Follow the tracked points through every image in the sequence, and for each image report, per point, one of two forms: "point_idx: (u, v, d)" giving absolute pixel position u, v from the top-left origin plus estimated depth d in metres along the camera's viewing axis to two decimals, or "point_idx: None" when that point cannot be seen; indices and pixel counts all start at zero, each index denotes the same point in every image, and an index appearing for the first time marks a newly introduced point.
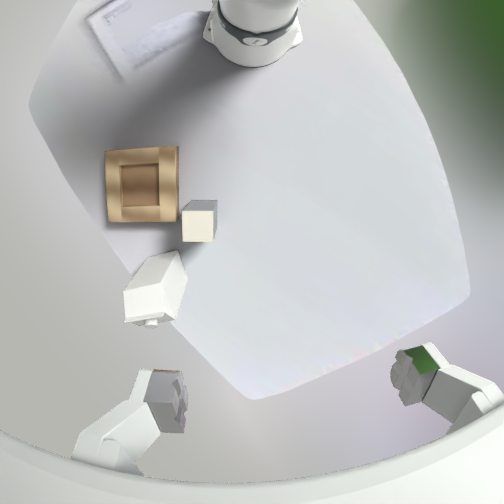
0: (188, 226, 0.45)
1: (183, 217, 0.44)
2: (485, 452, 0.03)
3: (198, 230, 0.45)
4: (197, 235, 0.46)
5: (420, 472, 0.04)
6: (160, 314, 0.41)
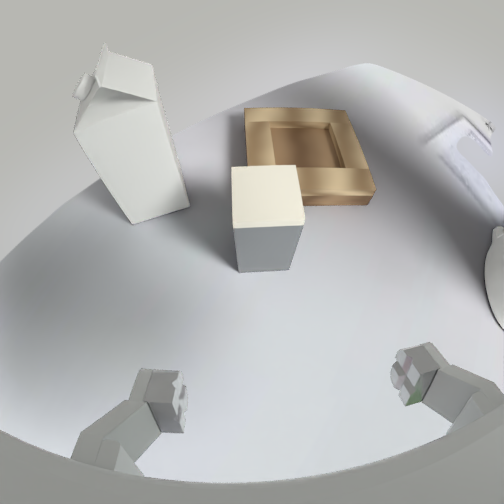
0: (264, 175, 0.21)
1: (284, 167, 0.21)
2: (485, 452, 0.03)
3: (258, 192, 0.20)
4: (246, 191, 0.20)
5: (420, 472, 0.04)
6: (99, 75, 0.14)
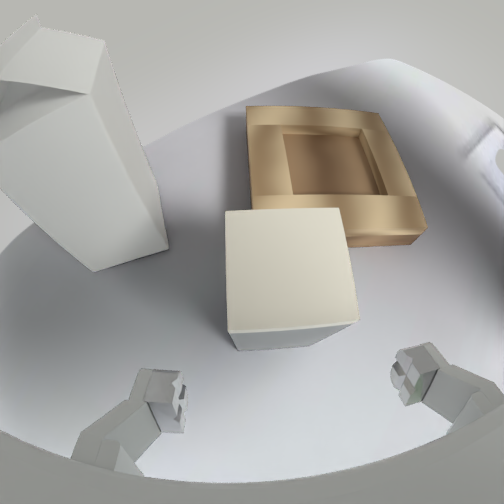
0: (286, 230, 0.12)
1: (319, 212, 0.12)
2: (485, 452, 0.03)
3: (275, 266, 0.11)
4: (253, 264, 0.11)
5: (420, 472, 0.04)
6: None
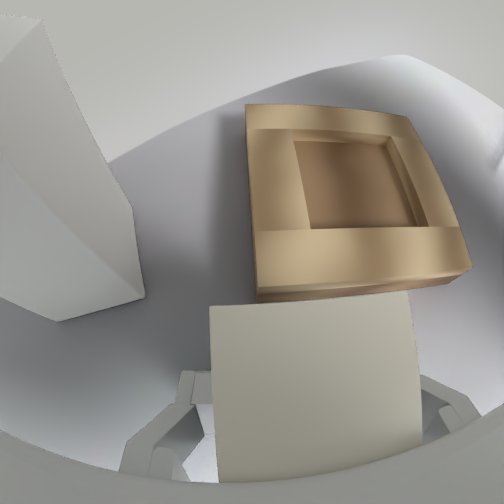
0: (323, 344, 0.06)
1: (378, 303, 0.06)
2: (485, 452, 0.03)
3: (302, 414, 0.05)
4: (263, 412, 0.05)
5: (420, 472, 0.04)
6: None
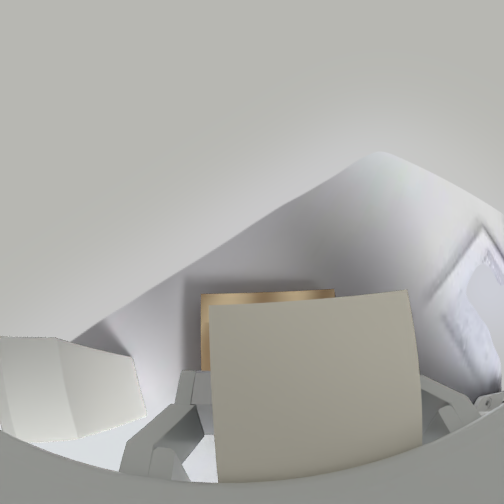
0: (322, 343, 0.06)
1: (378, 303, 0.06)
2: (485, 452, 0.03)
3: (302, 413, 0.05)
4: (262, 411, 0.05)
5: (420, 472, 0.04)
6: None
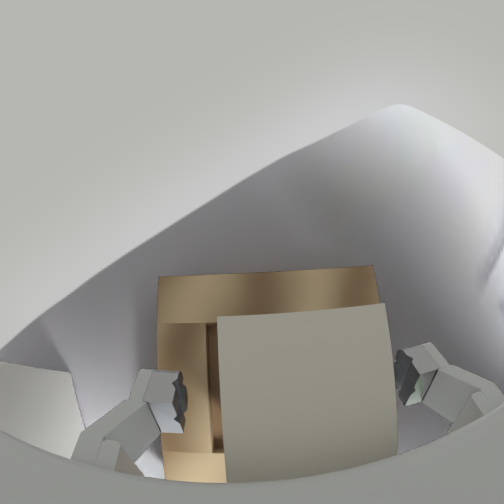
0: (310, 348, 0.07)
1: (358, 314, 0.08)
2: (485, 452, 0.03)
3: (293, 405, 0.07)
4: (261, 403, 0.07)
5: (420, 472, 0.04)
6: None
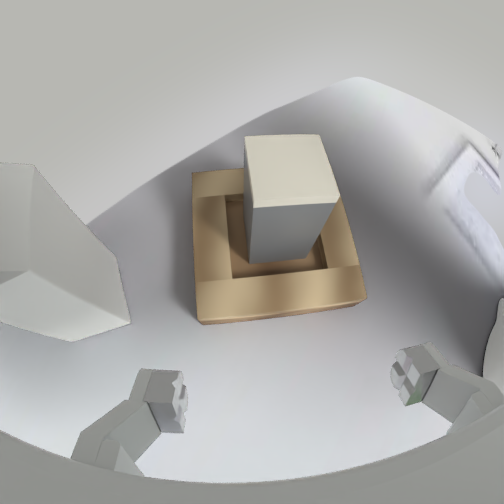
0: (285, 146, 0.17)
1: (306, 137, 0.17)
2: (485, 452, 0.03)
3: (281, 164, 0.16)
4: (266, 163, 0.16)
5: (420, 472, 0.04)
6: None
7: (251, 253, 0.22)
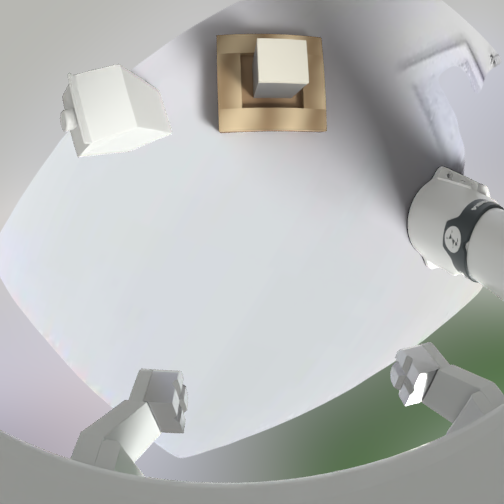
0: (282, 47, 0.23)
1: (297, 41, 0.22)
2: (485, 452, 0.03)
3: (277, 60, 0.23)
4: (268, 58, 0.23)
5: (420, 472, 0.04)
6: (86, 138, 0.19)
7: (255, 94, 0.31)
